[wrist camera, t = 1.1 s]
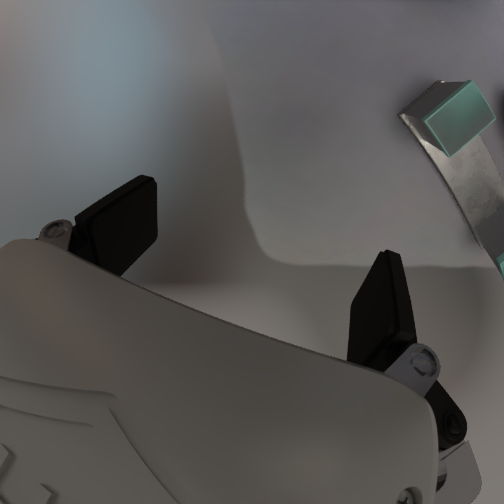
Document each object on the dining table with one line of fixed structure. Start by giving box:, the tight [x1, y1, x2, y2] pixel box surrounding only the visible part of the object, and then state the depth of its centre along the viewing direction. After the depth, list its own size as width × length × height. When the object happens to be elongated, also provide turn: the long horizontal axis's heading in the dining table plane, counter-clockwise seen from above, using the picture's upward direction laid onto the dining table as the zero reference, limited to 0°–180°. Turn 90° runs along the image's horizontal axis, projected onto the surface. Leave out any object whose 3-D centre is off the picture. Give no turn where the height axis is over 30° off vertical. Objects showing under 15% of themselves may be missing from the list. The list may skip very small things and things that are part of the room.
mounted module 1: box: [403, 80, 496, 158], centre depth 20 cm, size 7×4×9 cm, turn 139°
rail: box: [397, 80, 504, 249], centre depth 26 cm, size 8×23×2 cm, turn 49°
